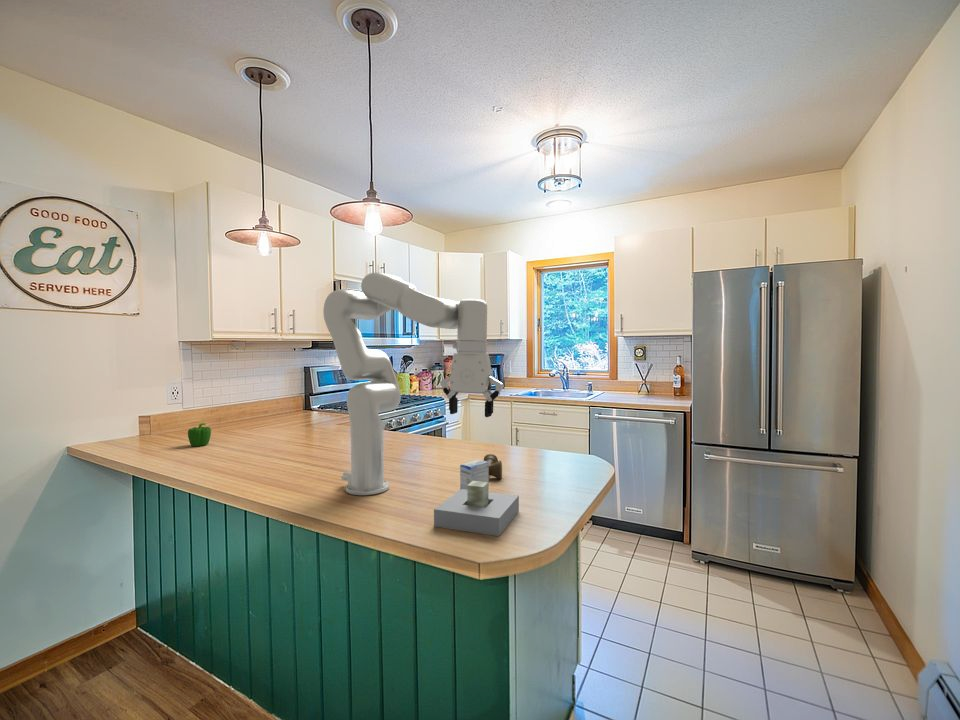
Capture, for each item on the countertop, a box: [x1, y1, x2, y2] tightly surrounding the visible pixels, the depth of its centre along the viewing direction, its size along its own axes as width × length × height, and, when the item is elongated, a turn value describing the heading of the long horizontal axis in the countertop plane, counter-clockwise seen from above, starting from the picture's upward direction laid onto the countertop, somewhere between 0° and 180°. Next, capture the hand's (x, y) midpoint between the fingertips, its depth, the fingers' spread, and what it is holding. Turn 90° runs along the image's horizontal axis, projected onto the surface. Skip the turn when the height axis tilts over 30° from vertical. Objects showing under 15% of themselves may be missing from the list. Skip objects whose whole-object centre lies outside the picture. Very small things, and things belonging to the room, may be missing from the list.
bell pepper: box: [187, 422, 212, 447], centre depth 191 cm, size 8×8×10 cm
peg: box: [467, 481, 489, 508], centre depth 106 cm, size 4×4×8 cm
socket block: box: [433, 488, 520, 537], centre depth 106 cm, size 16×16×4 cm
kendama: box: [483, 453, 503, 480], centre depth 144 cm, size 6×10×20 cm
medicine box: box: [459, 459, 490, 491], centre depth 126 cm, size 8×4×9 cm, turn 141°
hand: (470, 414), depth 111 cm, fingers open, 9 cm apart
